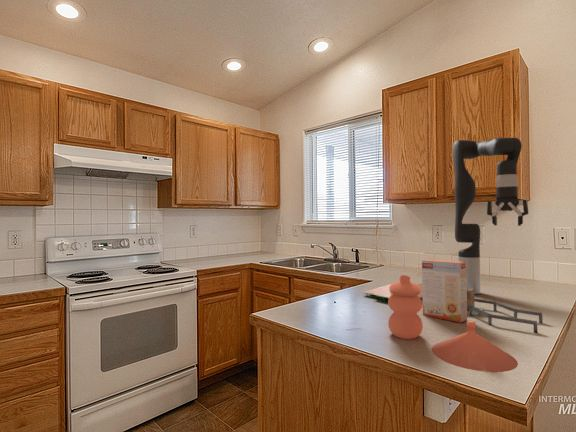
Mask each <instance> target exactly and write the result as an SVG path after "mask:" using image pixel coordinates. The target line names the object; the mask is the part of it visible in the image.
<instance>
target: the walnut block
mask: <svg viewBox="0 0 576 432" xmlns="http://www.w3.org/2000/svg"><path fill="white" fill-rule="evenodd" d="M474 299H475V294H474V289H472V288H467V305H471V306H474V307H476V306H475V305H476V304H475V302H474ZM467 311H469V308H467ZM472 311H473V310H472Z"/></svg>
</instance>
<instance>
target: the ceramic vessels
mask: <svg viewBox="0 0 576 432" xmlns="http://www.w3.org/2000/svg"><path fill="white" fill-rule="evenodd" d="M398 278H399V280H398V281H394V282H393V283H390V284H391V285H390V287H389V290H390V292H391V293H392V294H393V295H391V296H390V297H389V299H387V301H388V302H387V304H388V307H389V309H390V310H392V311H393V312H392V313H391V314H390V316H389V318H388V323H387V325H388V329H389V331H390V332H391V333H392V334H393V335H394V336H395V337H396V338H400V339H404V340H412V339H413V340H414V339H416V338H417V337H419V336H420V335H421V334H422V331H423V327H424V325H423V321H422V319H421V317H420V316H419V314H418V313H419V312H420V311H422V309H423V301H421V299H420V297H418V296H416V295H419V294H420V292H421V289H420V287H419V286H418V285H417V283H415V282H412V281H411V276H410V275H405V274H403V275H399V277H398ZM476 325H477V323H476V322H475V321H473V320H466V332H463V333H461V334H459V335H457V336H453V337H451V338H449V339H446V340H443V341H441V342H439V343H437V344H434V345H433V346H432V348H431V353H432V354H433V355H434V356H435V357H436V358H438V359H439V360H441V361H443V362H445V363H448V364H449V365H453V366H455V367H458V368H462V369H467V370H471V371H475V372H476V371H477V372H484V373H485V372H486V373H503V372H509V371H513V370H515V369H516V368H517V367H518V365H519V363H518V361H517V360H516V358H515V357H514V356H512V355H511V354H510V353H508V352H506V351H505V350H503V349H501V348H500V347H498V346H497V345H495V344H494V343H492V342H490V341H489V340H487V339H486V338H484V337H482V336H480V335H479V334H478V333H476V328H477V326H476Z"/></svg>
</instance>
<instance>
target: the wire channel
mask: <svg viewBox="0 0 576 432" xmlns="http://www.w3.org/2000/svg"><path fill="white" fill-rule="evenodd" d="M475 302H476V303H483V304H489V305H493V311H494V312H497V309H498V308H497V306H498V307H500V308H503V309H505V310H508V311H509V312H510V311H511V312H513V317H512V316H506V315H501V314H499V315H498V314H493V313H490V312H487V311H485V310H480V309H478V308H479V307H476V306H475V307H474V306H471V305H467V308H469V314H468V316H473V315H472V310H474V311H476V312H478V313H479V314H481V315H482V316H485V317H487V320H488V321H487V324H488V326H489V325H490V326H492V323H493V322H492V319H497V320H502V321H503V320H504V321H510V322H516V323H520V324H521V323H522V324H528V325H532V326H533V333H534V334H538V324H543V322H544V321H543V320H544V319H543V316H544V315H543V312H541V311H533V310H528V309H521V308H519V309H518V308H515V307H512V306H509V305H507V304H504V303H501V302H498V301H495V300H489V299H481V298H474V303H475ZM518 314H524V315H532V316H538V321H537V320H532V319H524V318H520V317H519V318H518Z"/></svg>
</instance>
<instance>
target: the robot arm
mask: <svg viewBox="0 0 576 432" xmlns="http://www.w3.org/2000/svg"><path fill="white" fill-rule="evenodd" d="M522 147H523V146H522V141H521V140H520V138H518V137H497V138H494V139H486V140H483V141H475V140H470V139H466V140H465V139H457V140H456V141H455V142H454V143H453V145H452V160H453V168H454V169H453V171H454V202H455V203H454V205H455V206H454V207H455V219H454V239H455V241H456V243H465V244H466V243H468V244H469V243H470V244H471V245H470V246H467V247H466V248H464V249H462V248H461V249H460V250H458V253H457V254H458V255H457V256H458V261H463V262H466V276H467V288H472V289H474V295H479V294H481V254H480V253H481V252H480V251H481V249H480V248H481V247H480V243H481V226H480V225H479V224H478V223H463V219H464V216H465V215H466V213H467V211H468V210H469V208H470V207H471V206H472V204H473V203H474V201H475V199H476V198H477V197H476V196H477V195H476V194H477V193H476V191H477V190H476V182H475V180H474V178H473V177H472V175H471V174H470V173H469V170H468V169H467V167H466V164H465V160H474V159H475V158H479V157H482V156H483V157H484V156H485V157H487V156H489V157H490V156H491V157H492V156H507V157H506V158H505V160H501V161H497V164H496V181H495V185H496V187H495V188H496V189H495V191H496V192H495V193H496V194H495V195H496V196H495V199H496V200H494V201H492V200H488V201H487V207H486V208H487V209H486V214H487V216H491V218H492V219H491V221H492V222H491V223H492V225H493V226H498V216H497V215H499V213H501V212H506V211H510V212H513V211H514V212H515V214H517V215H518V216H517V227H521V226H522V225H523V224H524V216H527V215H529V205H528V199H521V200H519V193H518V192H519V182H518V181H519V180H518V172H517V171H518V169H517V167H518V163H519V157H520V154H521V152H522ZM519 204H520V205H521V206H522V207H523V208H522V209H523V212H522V211H521V210H520V209H519V208H518V207H517V206H519ZM494 205H496V208H495V210H494V211H493V207H494Z"/></svg>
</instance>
